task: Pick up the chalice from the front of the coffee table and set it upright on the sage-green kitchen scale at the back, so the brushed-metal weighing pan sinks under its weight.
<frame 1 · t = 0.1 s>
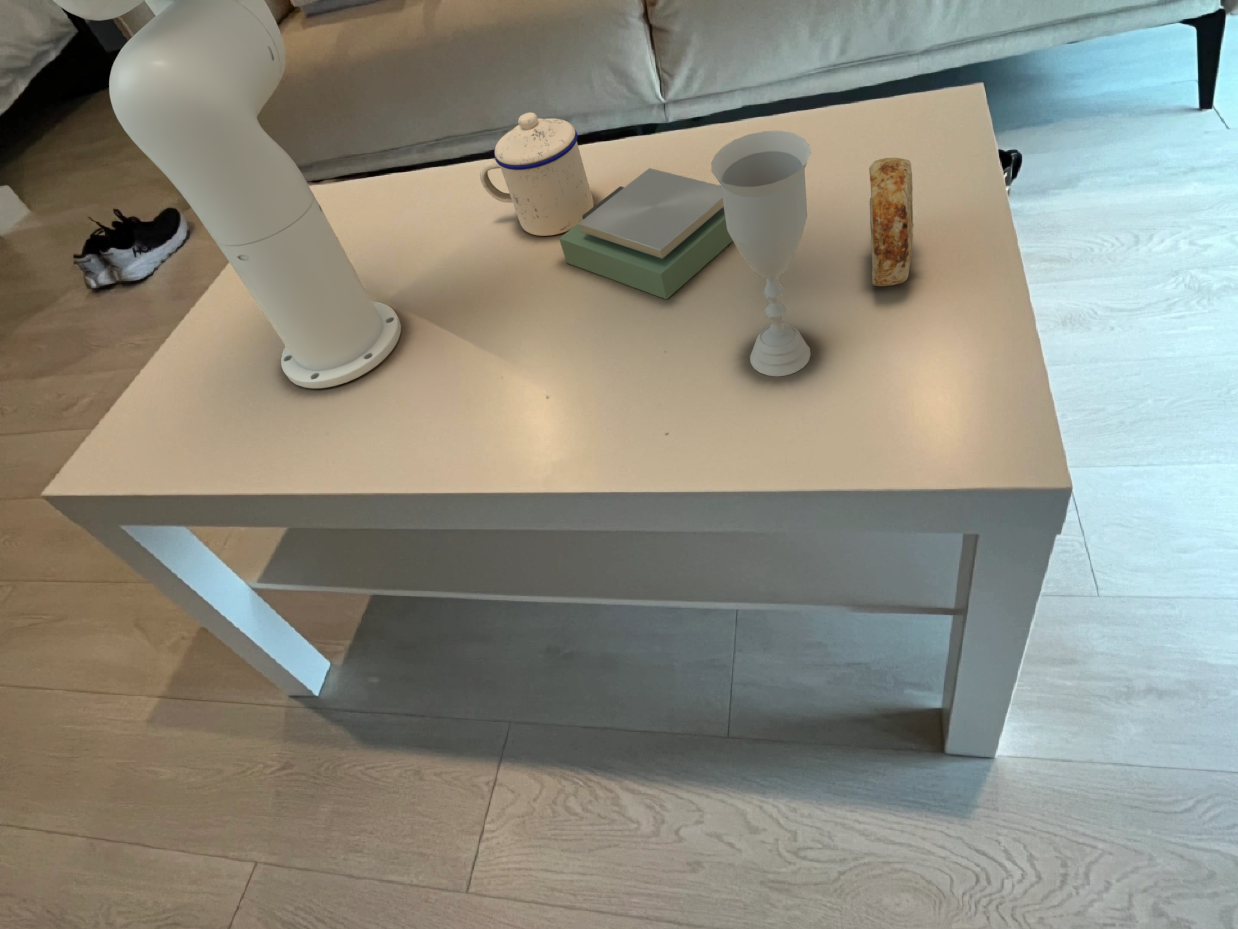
chalice: (780, 357, 69), on the table
teacup with lid: (546, 217, 93), on the table
scale: (655, 245, 84), on the table
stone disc: (889, 272, 73), on the table
weighing pan: (655, 210, 80), point 4 cm above the table, slide at 0.0 cm
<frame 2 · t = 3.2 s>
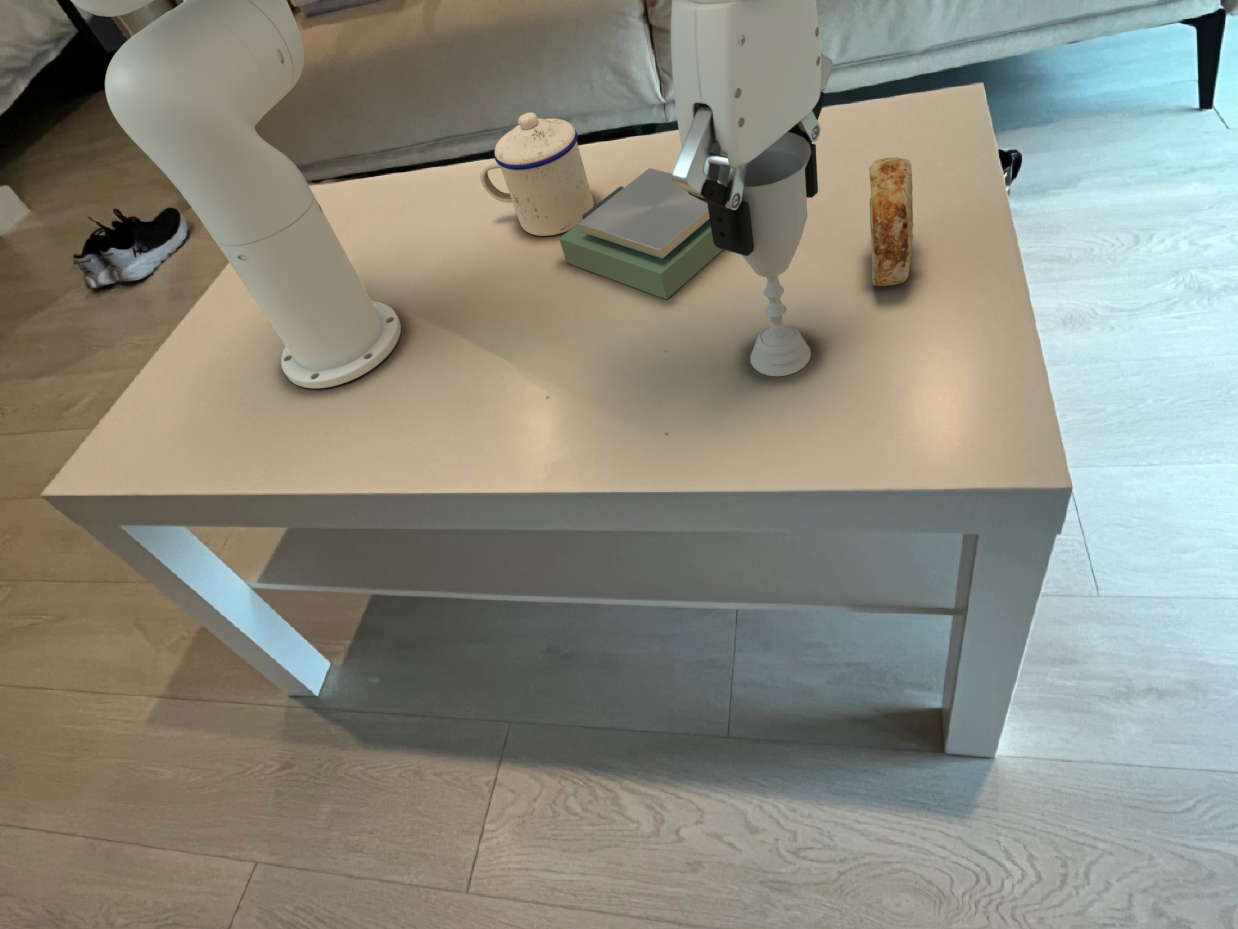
hand: (766, 218, 59), 13 cm above the table, tool pointing down, fingers closed on chalice, 7 cm apart
chalice: (780, 357, 69), on the table, touching gripper
everything else where it was.
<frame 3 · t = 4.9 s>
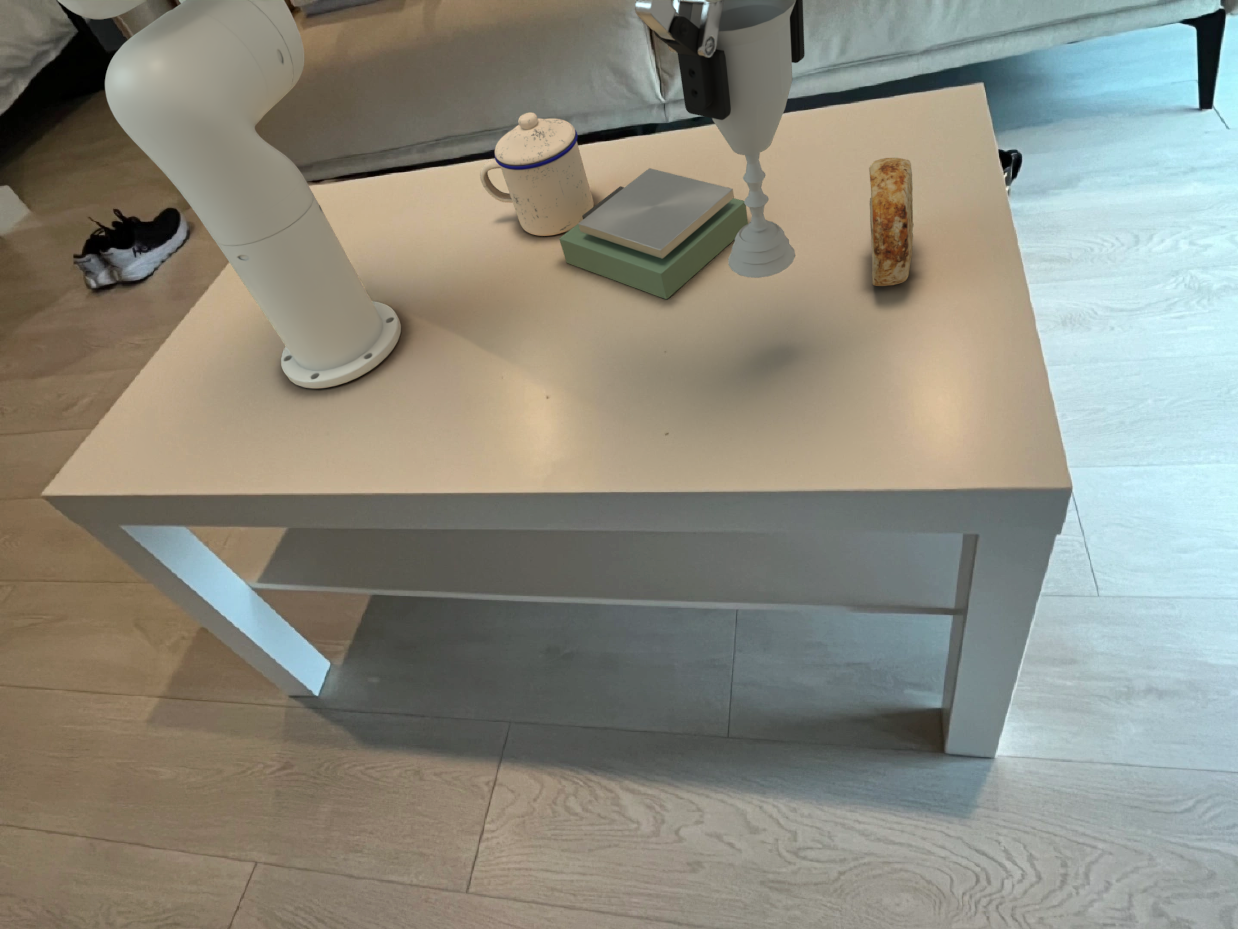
hand: (746, 83, 52), 23 cm above the table, tool pointing down, fingers closed on chalice, 7 cm apart
chalice: (761, 259, 62), point 10 cm above the table, touching gripper
everything else where it was.
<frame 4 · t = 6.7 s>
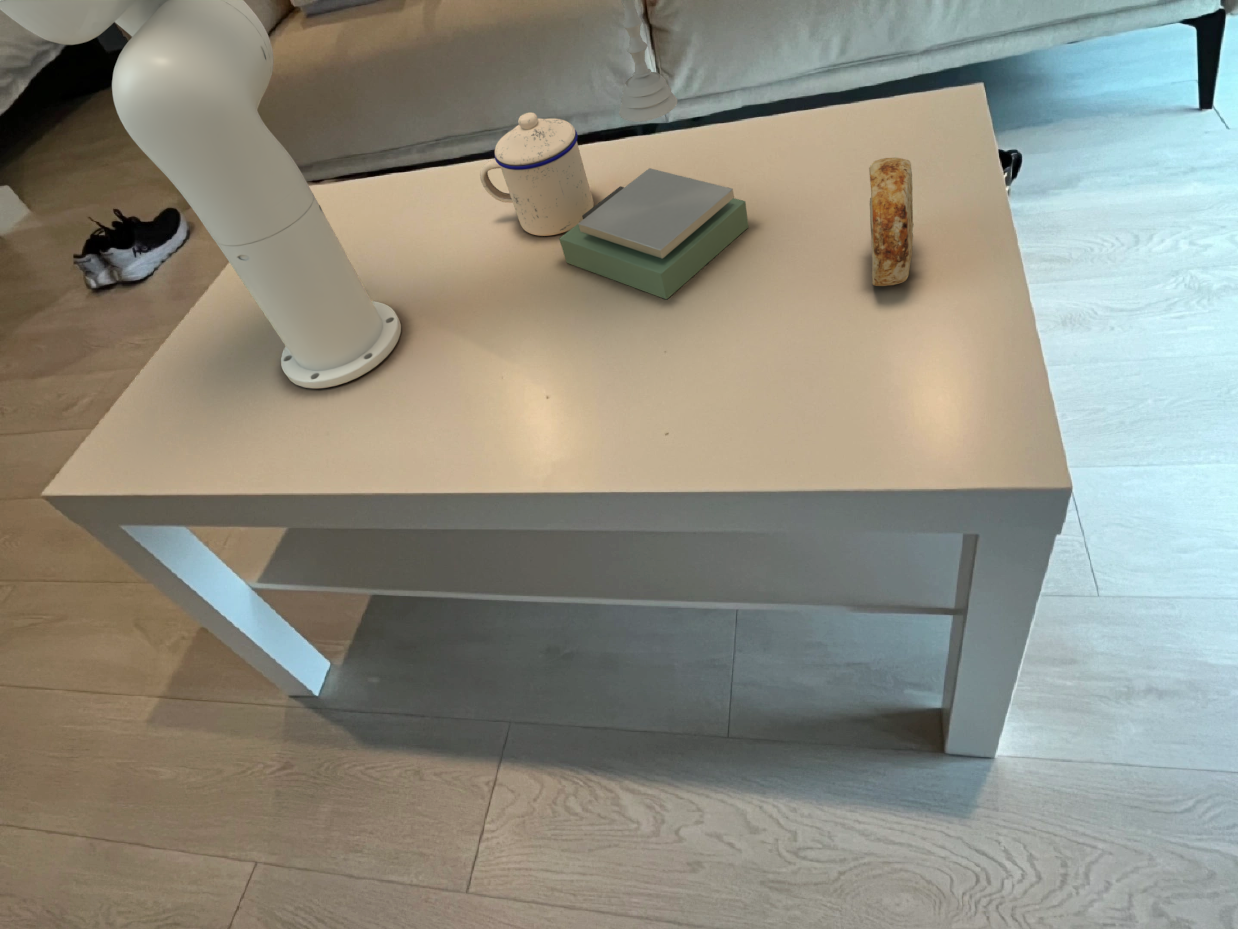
chalice: (648, 108, 69), point 16 cm above the table, touching gripper
everything else where it was.
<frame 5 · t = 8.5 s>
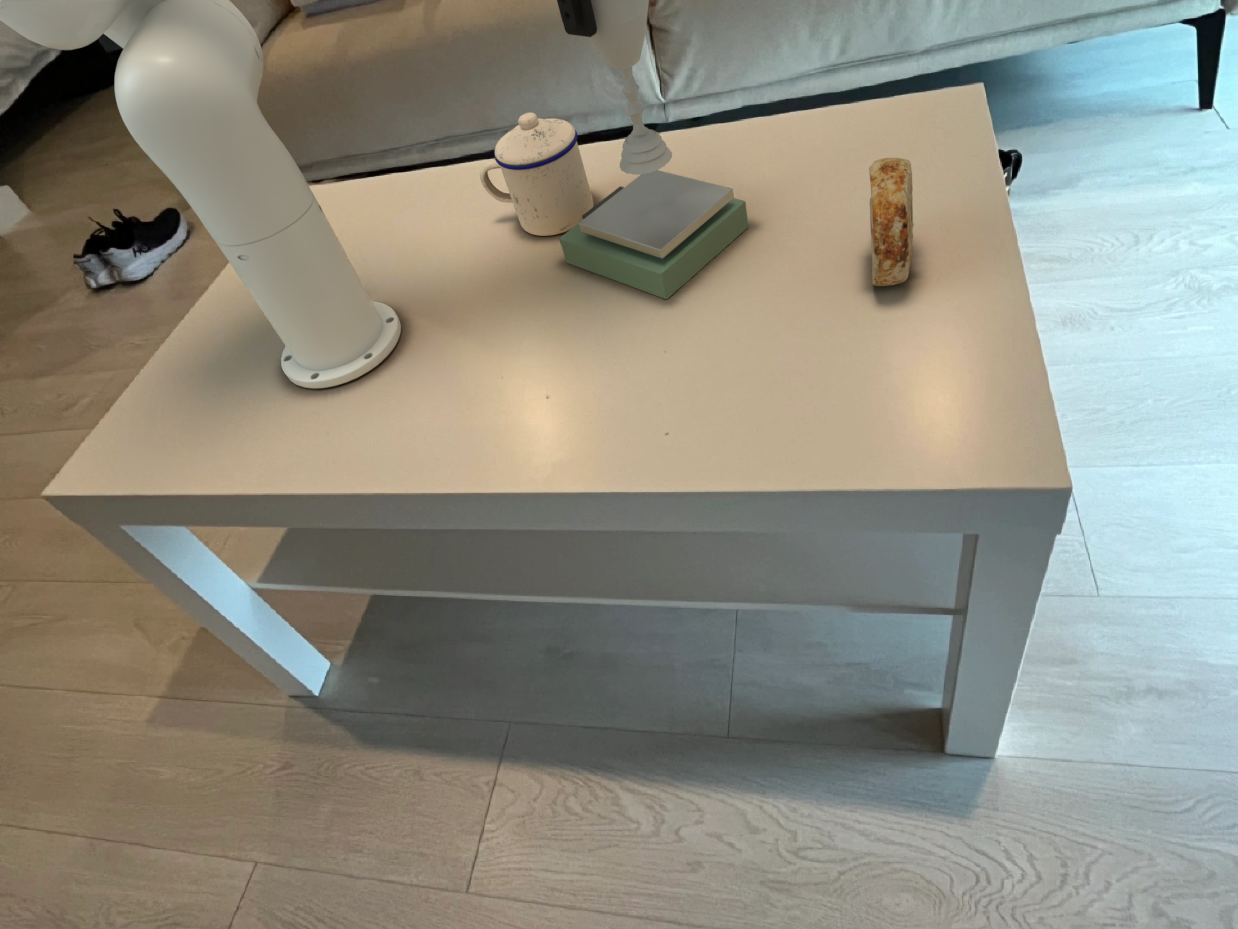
hand: (613, 11, 67), 23 cm above the table, tool pointing down, fingers closed on chalice, 7 cm apart
chalice: (646, 161, 77), point 9 cm above the table, touching gripper
everything else where it was.
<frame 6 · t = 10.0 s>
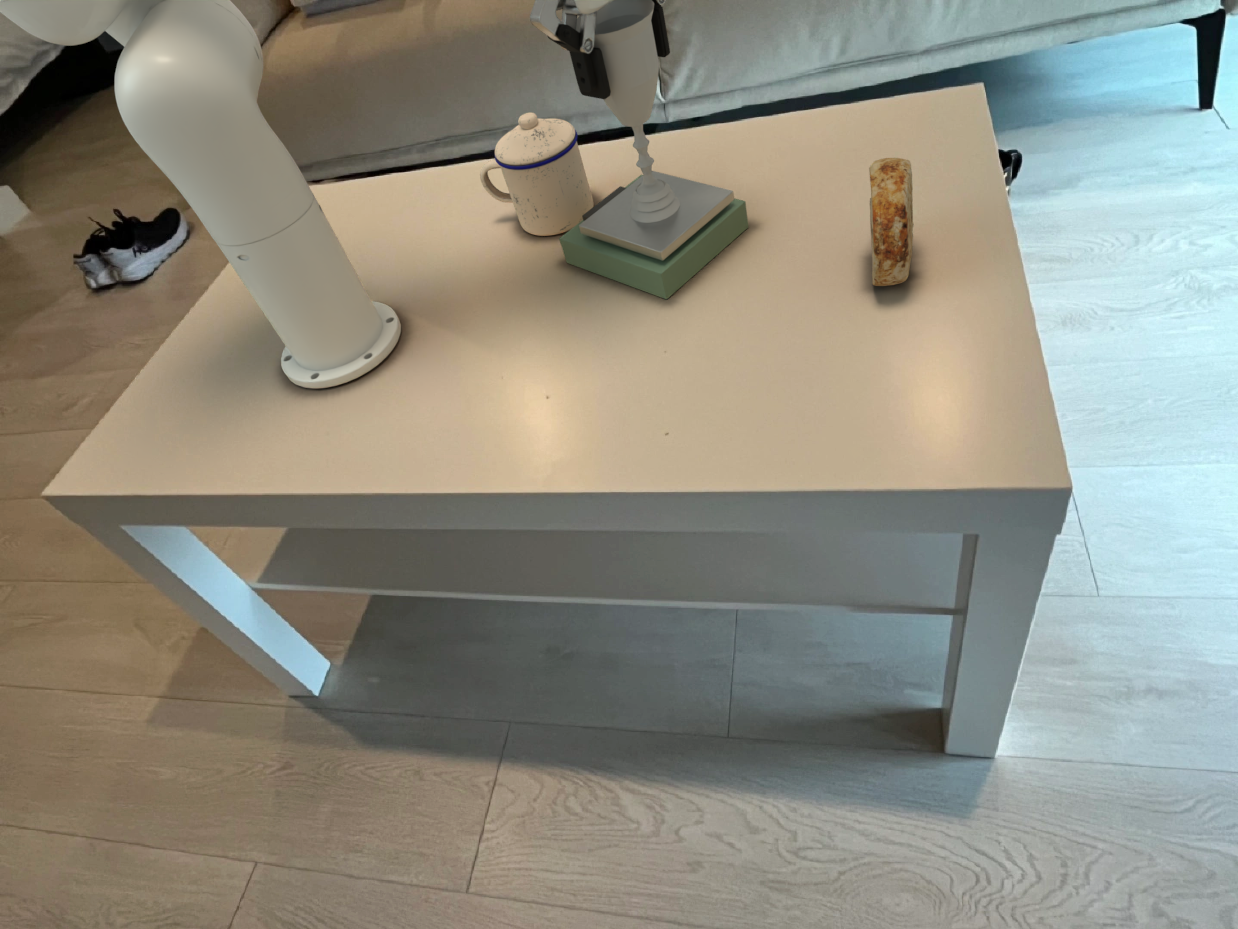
hand: (625, 73, 71), 18 cm above the table, tool pointing down, fingers closed on chalice, 7 cm apart
chalice: (655, 209, 80), point 4 cm above the table, touching gripper, weighing pan
weighing pan: (655, 212, 81), point 4 cm above the table, slide at -0.2 cm, touching chalice
everything else where it was.
when the fingers open (18 cm above the table, at t = 10.3 s): chalice stays where it is, resting on weighing pan.
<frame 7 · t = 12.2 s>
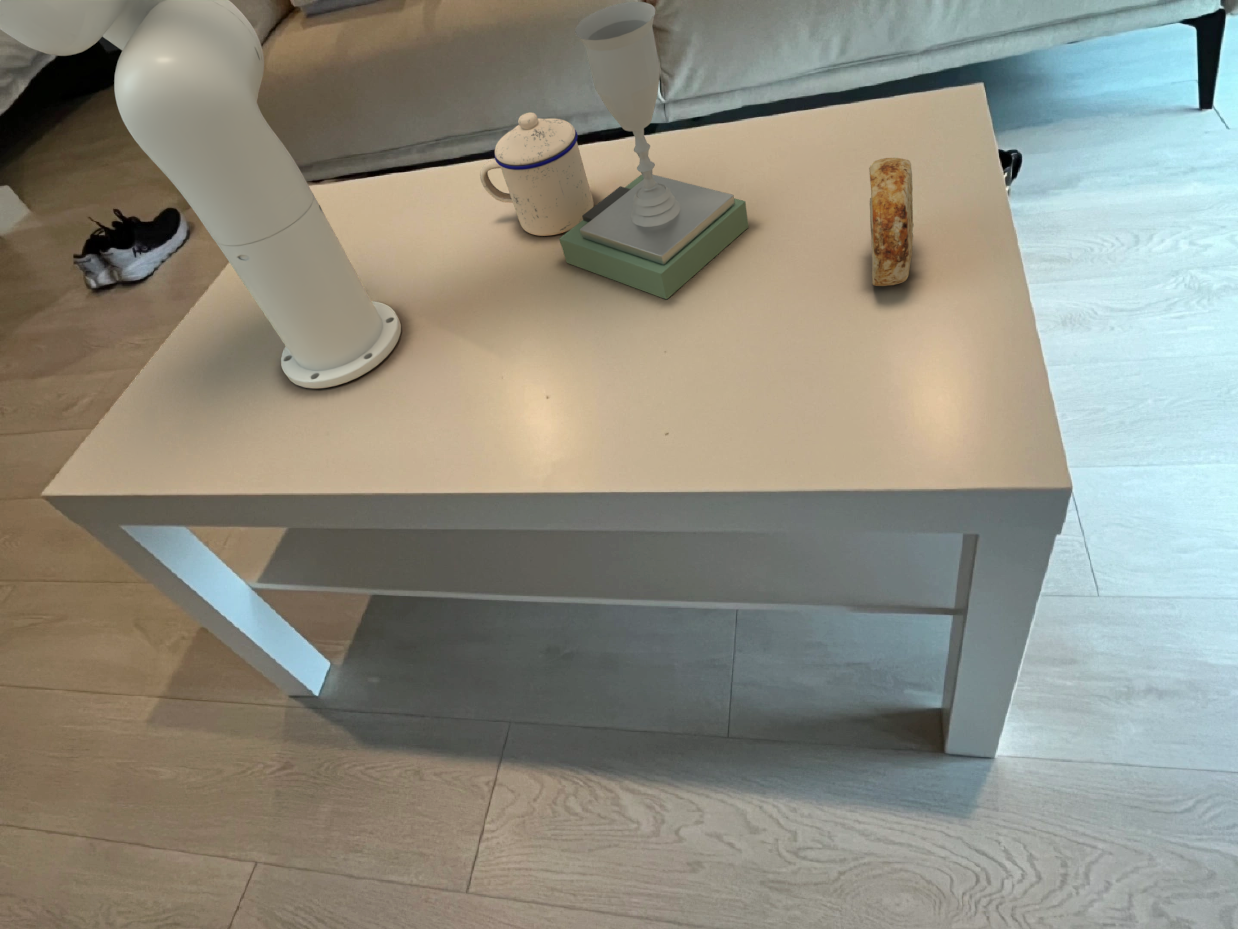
chalice: (655, 213, 81), point 4 cm above the table, touching weighing pan
weighing pan: (656, 216, 81), point 4 cm above the table, slide at -0.7 cm, touching chalice
everything else where it was.
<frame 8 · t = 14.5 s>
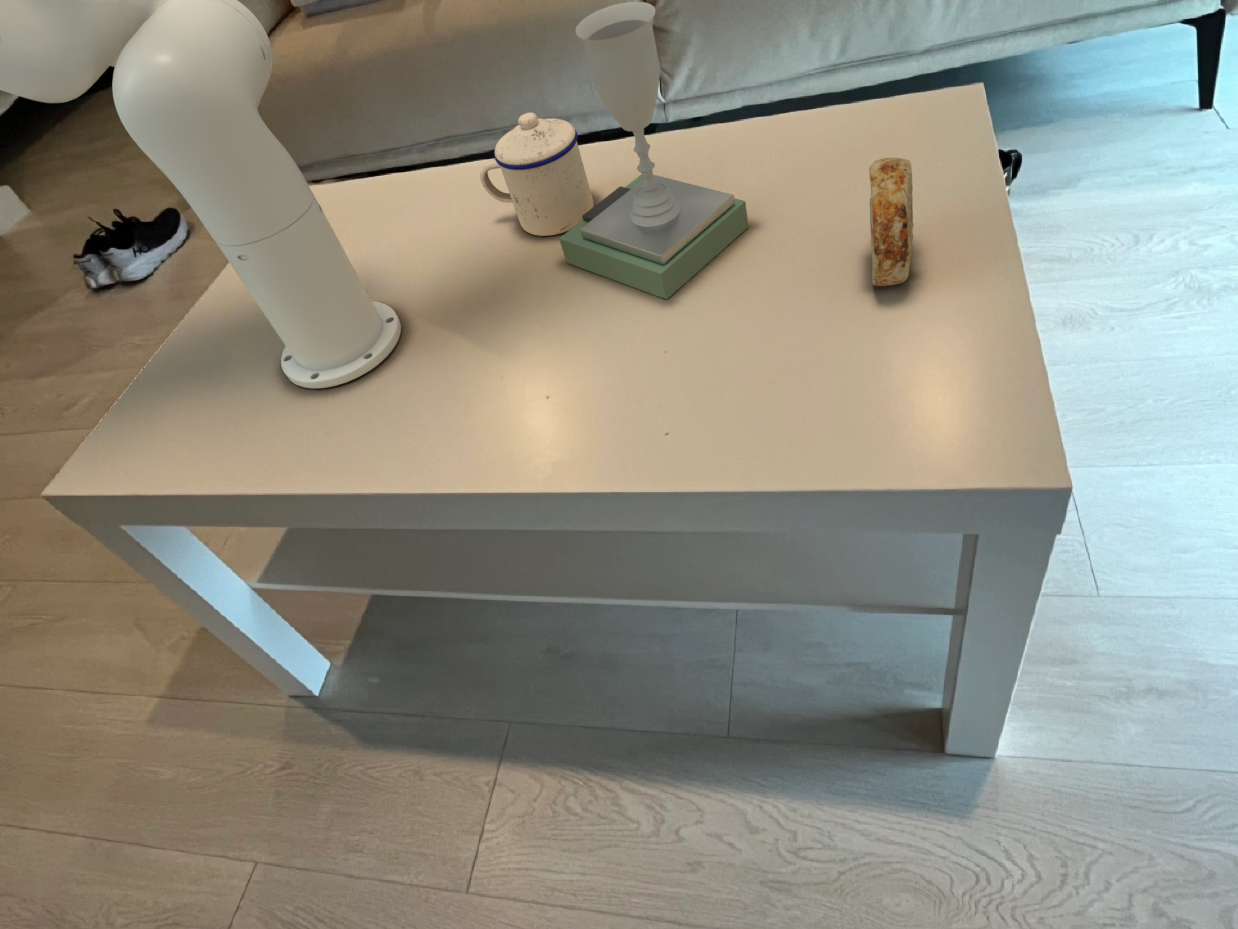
nothing on the table moved.
at the end: chalice inside the target area on the scale (0.0 cm from its centre), point 4.0 cm above the scale's base; chalice tilted 0°; weighing pan slide at -0.7 cm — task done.
